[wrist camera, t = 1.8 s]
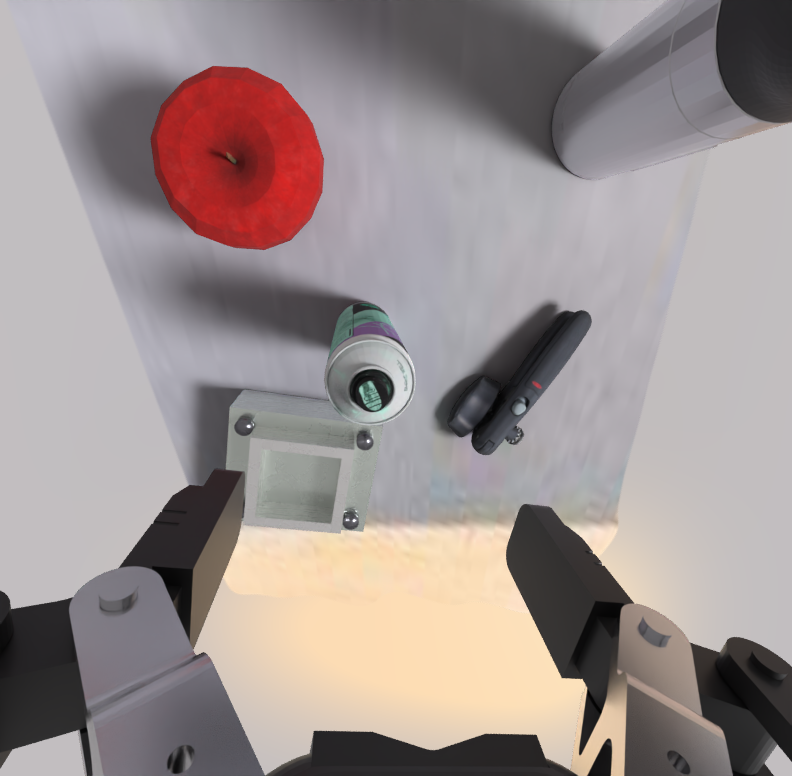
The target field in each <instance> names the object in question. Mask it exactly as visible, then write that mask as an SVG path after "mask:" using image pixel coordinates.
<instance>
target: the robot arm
mask: <svg viewBox="0 0 792 776" xmlns="http://www.w3.org/2000/svg"><path fill="white" fill-rule="evenodd" d="M791 122H792V0H667V1H665V2H664V3H663V4H662V5H660V6H659V7H658V8H657V9H656V10H654V11H653V12H652V13H651V14H649V15H648V16H647V17H646V18H644V19H643V20H642V21H641V22H639V23H638V24H637V25H636V26H634V27H633V28H632V29H631V30H629V31H628V32H627V33H626V34H625V35H623V36H622V37H621V38H620V39H618V40H617V41H616V42H615V43H613V44H612V45H611V46H610V47H608V48H607V49H606V50H605V51H603V52H602V53H601V54H600V55H598V56H597V57H596V58H595V59H594V60H592V61H591V62H590V63H589V64H588V65H586V66H585V67H584V68H583V69H581V70H580V71H579V72H578V73H577V74H575V75H574V76H573V77H572V78H571V80H570V81H569V82H568V83H567V84H566V86H565V87H564V89H563V91H562V92H561V94H560V96H559V98H558V101H557V103H556V106H555V109H554V114H553V120H552V138H553V143H554V147H555V150H556V152H557V155H558V157H559V159H560V160H561V162H562V163H563V165H564V166H565V167H566V168H567V169H568V170H569V171H571V172H572V173H573V174H575V175H577V176H579V177H581V178H586V179H603V178H606V177H610V176H613V175H617V174H620V173H624V172H627V171H635V170H639V169H642V168H645V167H649V166H652V165H656V164H659V163H663V162H666V161H669V160H673V159H676V158H680V157H683V156H686V155H690V154H693V153H697V152H700V151H703V150H707V149H710V148H714V147H716V146H717V145H719V144H722V143H725V142H728V141H732V140H735V139H739V138H742V137H744V136H748V135H751V134H754V133H758V132H761V131H765V130H768V129H771V128H774V127H778V126H781V125H785V124H788V123H791ZM244 488H245V472H244V471H235V470H226V469H217V468H216V469H215V470H214V471H213V472H212V474H211V475H210V477H209V479H208V480H207V482H206V483H205V485H204V486H195V485H189V486H188V487H186V488H184V489H183V490H181V491H180V492H178V493H176V494H175V495H173V496H172V497H171V499H170V500H169V501H168V503H167V504H166V505H165V507H164V508H163V510H162V512H160V513H159V515H158V516H157V517H156V519H155V520H154V523H153V524H151V526H150V527H149V528H148V529H147V531H146V532H145V534H144V535H143V536H142V537H141V539H140V540H139V542H138V543H137V544H136V545H135V547H134V548H133V550H132V551H131V552H130V553H129V555H128V556H127V557H126V559H125V560H124V562H123V563H122V564H121V566H120V567H119V568H118V569H114V570H111V571H108V572H106V573H103V574H101V575H99V576H97V577H95V578H93V579H92V580H90V581H89V582H87V583H86V584H85V585H83V586H82V587H81V588H80V589H79V590H78V591H77V593H76V594H75V595H74V597H72V598H69V599H66V600H61V601H57V602H51V603H45V604H39V605H33V606H28V607H21V608H16V609H11V606H10V600H9V598H8V596H7V595H6V594H5V593H4V592H2V591H0V768H1V767H2V765H3V763H4V762H5V760H6V759H7V757H8V755H9V754H10V752H11V751H12V749H15V748H18V747H22V746H25V745H29V744H32V743H36V742H39V741H42V740H45V739H49V738H53V737H56V736H59V735H63V734H66V733H70V732H73V731H76V730H78V734H79V741H80V747H81V754H82V759H83V766H84V772H85V776H265V775H264V773H263V770H262V768H261V766H260V764H259V762H258V760H257V758H256V755H255V753H254V751H253V749H252V747H251V744H250V742H249V740H248V738H247V736H246V734H245V731H244V729H243V727H242V725H241V723H240V721H239V718H238V717H237V714H236V712H235V710H234V708H233V705H232V703H231V701H230V699H229V697H228V695H227V692H226V690H225V688H224V686H223V684H222V682H221V679H220V677H219V675H218V673H217V671H216V669H215V666H214V664H213V662H212V661H211V659H210V657H209V656H208V655H207V654H206V653H204V652H203V653H201V654H199V655H196V654H195V653H194V651H193V649H194V647H195V644H196V642H197V639H198V637H199V634H200V632H201V630H202V627H203V625H204V622H205V620H206V617H207V614H208V612H209V610H210V607H211V605H212V602H213V600H214V597H215V595H216V592H217V590H218V588H219V585H220V583H221V580H222V578H223V575H224V573H225V570H226V568H227V565H228V563H229V561H230V558H231V556H232V553H233V551H234V548H235V546H236V543H237V540H238V536H239V532H240V527H241V521H242V510H243V499H244ZM506 560H507V565H508V568H509V571H510V573H511V575H512V577H513V579H514V581H515V583H516V585H517V587H518V589H519V591H520V593H521V595H522V597H523V599H524V601H525V603H526V605H527V607H528V609H529V612H530V614H531V616H532V617H533V620H534V621H535V624H536V626H537V628H538V630H539V632H540V634H541V636H542V638H543V640H544V642H545V644H546V646H547V648H548V650H549V652H550V654H551V656H552V658H553V661H554V663H555V665H556V667H557V669H558V671H559V673H560V675H561V677H562V678H572V679H583V681H584V682H585V684H586V687H585V689H584V692H583V693H582V696H581V702H580V708H579V716H578V723H577V729H576V735H575V742H574V750H573V755H572V763H571V768H570V770H569V769H567V768H565V767H563V766H562V765H560V764H557V763H555V762H553V761H551V760H549V759H546V758H545V756H544V754H543V751H542V748H541V745H540V743H539V740H538V738H537V735H519V734H484V735H481V736H478V737H475V738H472V739H469V740H466V741H463V742H460V743H457V744H454V745H451V746H448V747H445V748H442V749H439V750H427V749H424V748H420V747H417V746H415V745H411V744H408V743H405V742H402V741H399V740H396V739H393V738H390V737H386V736H383V735H380V734H377V733H374V732H346V731H314V733H313V739H312V745H311V750H310V754H307V755H304V756H301V757H298V758H296V759H293V760H291V761H289V762H287V763H285V764H283V765H281V766H279V767H278V768H276V769H275V770H273V771H271V772H270V773H268V774H267V775H266V776H774V775H773V774H772V773H771V772H770V770H769V769H768V768H767V766H766V765H765V764H764V763H765V761H766V760H767V758H768V757H769V756H770V754H771V753H772V751H773V750H774V749H775V747H776V746H777V744H778V745H779V747H780V748H781V749H782V750H783V752H784V753H785V754H786V755H787V757H788V758H789V759H790V760H791V761H792V667H791V666H790V665H789V664H788V663H787V662H786V661H784V660H783V659H782V658H780V657H779V656H778V655H776V654H774V653H773V652H772V651H770V650H768V649H767V648H765V647H763V646H761V645H759V644H757V643H755V642H753V641H750V640H747V639H744V638H739V637H732V638H729V639H728V640H727V642H726V644H725V645H724V647H723V649H722V650H721V652H720V653H719V652H716V651H713V650H710V649H707V648H704V647H701V646H698V645H695V644H692V643H690V642H689V640H688V639H687V637H686V636H685V634H684V633H683V632H682V631H681V630H680V629H679V628H678V627H677V626H676V625H675V624H674V623H673V622H672V621H671V620H669V619H668V618H666V617H665V616H664V615H662V614H660V613H659V612H657V611H655V610H653V609H651V608H649V607H646V606H643V605H639V604H634V602H633V601H632V600H631V599H630V597H629V596H628V595H627V594H626V593H625V591H624V590H623V589H622V587H621V586H620V585H619V584H618V583H617V581H616V580H615V579H614V578H613V576H612V575H611V574H610V572H609V571H608V570H607V569H606V567H605V566H602V563H601V561H600V560H599V559H598V557H597V556H596V555H595V554H593V551H592V550H591V549H590V547H589V546H588V545H587V544H586V542H585V541H584V540H583V539H582V538H581V537H580V536H579V535H578V534H576V533H575V532H574V531H572V530H571V529H570V528H569V527H567V526H565V525H564V524H563V522H562V521H561V520H560V519H559V517H558V516H557V515H556V513H555V512H554V511H553V510H552V508H550V507H547V506H539V505H530V504H524V505H522V506H521V508H520V510H519V512H518V515H517V518H516V521H515V524H514V527H513V530H512V533H511V536H510V539H509V542H508V545H507V550H506Z"/></svg>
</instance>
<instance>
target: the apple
mask: <svg viewBox="0 0 792 776" xmlns="http://www.w3.org/2000/svg"><path fill="white" fill-rule="evenodd" d="M151 146H152V153H153V160H154V168H155V175H156V177H157V179H158V181H159V183H160V185H161V188H162V190H163V192H164V194H165V196H166V198H167V200H168V203H169V205H170V207H171V208H172V209H173V210H174V212H175V213H176V214H177V215H178V216H179V217H180V218H181V219H182V220H183V221H184V222H185V223H186V224H187V225H188V226H189V227H190V228H191V229H192V230H193V231H194V232H195V233H196V234H198V235H201V236H203V237H206V238H209V239H211V240H214V241H217V242H219V243H222V244H225V245H227V246H231V247H235V248H245V249H260V250H266V249H268V248H271V247H274V246H276V245H279V244H282V243H284V242H287V241H290V240H291V239H292V238H293V237H294V236H295V235H296V234H297V233H298V232H299V231H300V230H301V229H302V228H303V226H304V225H305V224H306V223H307V222H308V221H309V220H310V219H311V217H312V215H313V212H314V210H315V207H316V205H317V203H318V201H319V198H320V196H321V194H322V188H323V165H324V158H323V155H322V152H321V148H320V145H319V142H318V139H317V136H316V133H315V130H314V126H313V124H312V122H311V120H310V119H309V117H308V116H307V114H306V113H305V112H304V111H303V109H302V108H301V107H300V106H299V105H298V103H297V102H296V101H295V100H294V99H293V97H292V96H291V95H290V94H289V93H288V91H287V90H286V89H285V88H284V86H283V85H282V84H280V83H278V82H276V81H274V80H272V79H270V78H268V77H266V76H264V75H262V74H260V73H257V72H255V71H253V70H251V69H249V68H241V67H221V66H212V67H210V68H208V69H206V70H204V71H202V72H200V73H198V74H196V75H194V76H192V77H190V78H188V79H186V80H184V81H183V82H182V83H181V84H180V85H179V86H178V87H177V89H176V90H175V91H174V92H173V93H172V94H171V95H170V96H169V97H168V99H167V100H166V101H165V102H164V103H163V104H162V105H161V108H160V111H159V114H158V117H157V120H156V123H155V126H154V129H153V132H152V135H151Z"/></svg>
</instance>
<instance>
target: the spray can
mask: <svg viewBox="0 0 792 776" xmlns="http://www.w3.org/2000/svg"><path fill="white" fill-rule="evenodd" d="M324 381H325V389H326V393H327V396H328V399H329V401H330V403H331V404H332V406H333V408H334V409H335V410H336V411H337V412H338V413H339V414H340V415H341V416H343V417H344V418H345V419H347V420H349V421H351V422H354V423H357V424H361V425H379V424H383V423H386V422H389V421H391V420H393V419H395V418H396V417H397V416H399V415H400V414H401V413H402V412H403V411H404V410H405V409H406V408H407V407H408V405H409V403H410V402H411V400H412V397H413V394H414V391H415V384H416V383H415V370H414V366H413V363H412V361H411V359H410V357H409V355H408V353H407V351H406V349H405V347H404V346H403V344H402V342H401V340H400V338H399V336H398V334H397V333H396V331H395V329H394V327H393V325H392V323H391V321H390V320H389V318H388V316H387V314H386V313H385V312H384V311H383V310H382V309H381V308H380V307H378V306H376V305H375V304H372V303H368V302H359V303H355V304H352V305H350V306H348V307H347V308H346V309H345V310H344V311H343V312H342V313H341V315H340V316H339V318H338V321H337V324H336V328H335V332H334V336H333V341H332V345H331V349H330V353H329V357H328V361H327V365H326V369H325V378H324Z"/></svg>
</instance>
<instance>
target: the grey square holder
mask: <svg viewBox="0 0 792 776" xmlns="http://www.w3.org/2000/svg"><path fill="white" fill-rule="evenodd" d="M382 429H383V424H379V425H361V424H357V423H354V422H351V421H349V420H347V419H345V418H344V417H343V416H341V415H340V414H339V413H338V412H337V411H336V410H335V409H334V408H333V406H332V404H331V403H330V401H328V400H320V399H313V398H306V397H298V396H291V395H284V394H276V393H269V392H262V391H254V390H247V389H244V390H243V391H242V392H241V394H240V395H239V396H238V397H237V399H236V400H235V401H234V402H233V403H232V405H231V406H230V409H229V425H228V441H227V457H226V470H235V471H244V472H245V488H244V499H243V510H242V521H244V522H243V525H248V526H260V527H272V528H283V529H295V530H306V531H318V532H329V533H341V530H351V531H362V532H363V529H364V524H365V519H366V514H367V508H368V503H369V498H370V493H371V487H372V482H373V477H374V472H375V466H376V461H377V456H378V450H379V445H380V440H381V435H382Z"/></svg>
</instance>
